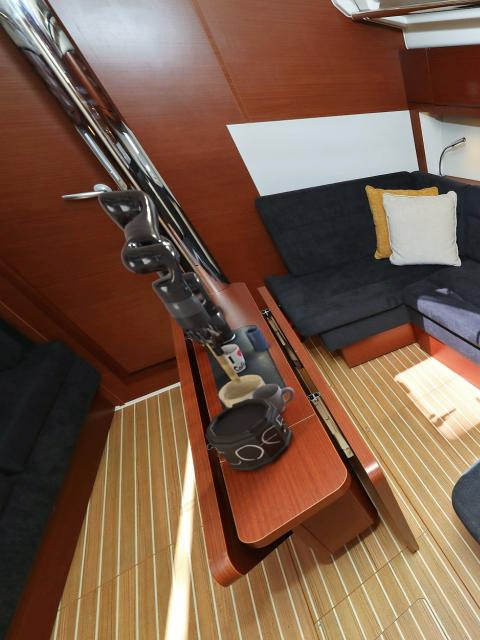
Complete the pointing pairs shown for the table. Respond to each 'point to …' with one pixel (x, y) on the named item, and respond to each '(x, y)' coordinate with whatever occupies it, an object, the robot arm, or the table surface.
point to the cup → (234, 357)
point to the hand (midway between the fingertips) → (217, 354)
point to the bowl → (240, 389)
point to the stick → (226, 366)
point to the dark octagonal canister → (249, 434)
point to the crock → (256, 339)
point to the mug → (273, 395)
